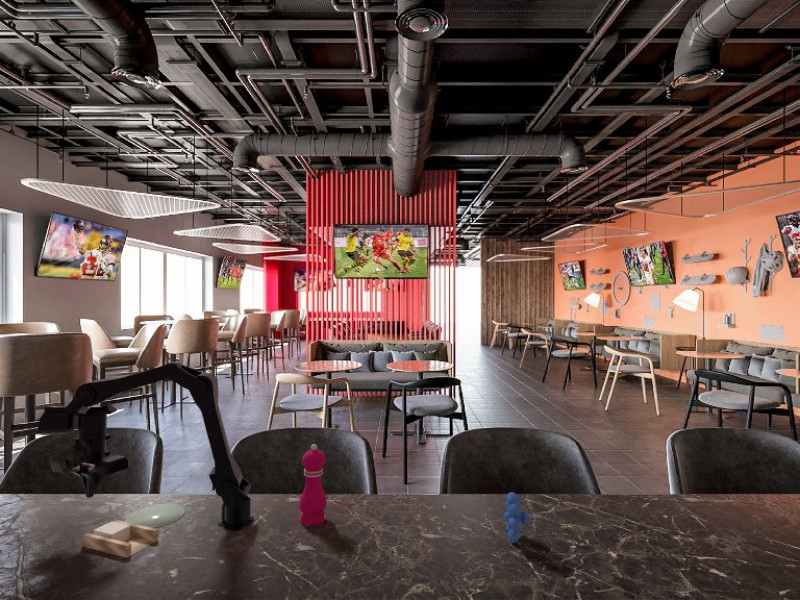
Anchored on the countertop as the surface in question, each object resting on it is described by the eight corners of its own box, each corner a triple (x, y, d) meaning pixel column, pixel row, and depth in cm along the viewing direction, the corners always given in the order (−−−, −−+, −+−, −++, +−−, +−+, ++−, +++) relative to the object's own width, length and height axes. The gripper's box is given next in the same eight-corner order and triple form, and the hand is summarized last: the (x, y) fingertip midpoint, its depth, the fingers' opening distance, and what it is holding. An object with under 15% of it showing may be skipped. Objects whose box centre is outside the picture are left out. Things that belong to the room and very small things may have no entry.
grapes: (535, 557, 96) (535, 503, 97) (504, 554, 97) (504, 501, 98) (528, 532, 108) (527, 483, 108) (500, 529, 109) (500, 482, 109)
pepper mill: (320, 528, 109) (321, 449, 110) (293, 525, 110) (295, 447, 111) (330, 515, 116) (331, 441, 117) (305, 513, 117) (307, 439, 118)
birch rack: (158, 541, 101) (158, 529, 102) (126, 559, 94) (127, 545, 94) (115, 531, 106) (115, 519, 106) (82, 547, 98) (82, 534, 99)
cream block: (129, 538, 102) (130, 525, 102) (111, 547, 98) (112, 534, 98) (111, 534, 104) (112, 521, 104) (93, 543, 100) (93, 530, 100)
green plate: (196, 510, 118) (196, 507, 118) (152, 534, 105) (152, 531, 105) (158, 503, 122) (158, 500, 122) (111, 525, 109) (111, 522, 109)
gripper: (29, 437, 100) (26, 505, 99) (85, 445, 94) (82, 517, 93) (78, 426, 111) (76, 487, 110) (131, 432, 105) (129, 497, 104)
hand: (89, 497), depth 104 cm, fingers closed
